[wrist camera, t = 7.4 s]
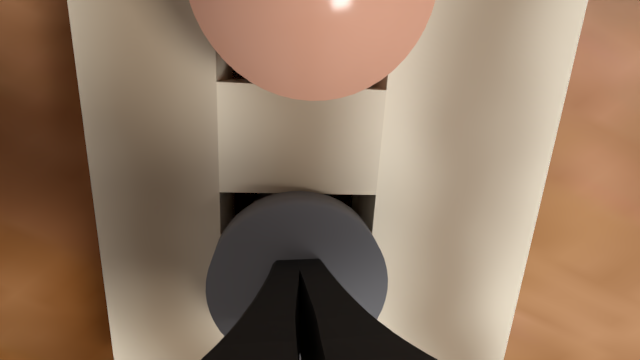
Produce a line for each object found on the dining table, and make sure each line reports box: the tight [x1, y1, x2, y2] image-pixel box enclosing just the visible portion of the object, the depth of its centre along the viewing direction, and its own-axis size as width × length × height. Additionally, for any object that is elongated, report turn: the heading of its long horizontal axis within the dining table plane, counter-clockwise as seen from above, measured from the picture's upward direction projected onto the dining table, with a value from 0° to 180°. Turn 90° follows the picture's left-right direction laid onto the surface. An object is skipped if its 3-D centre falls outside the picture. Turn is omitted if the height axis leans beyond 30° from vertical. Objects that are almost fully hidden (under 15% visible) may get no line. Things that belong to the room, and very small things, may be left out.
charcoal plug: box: [205, 191, 388, 360], centre depth 13 cm, size 5×5×5 cm
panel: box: [67, 0, 588, 360], centre depth 12 cm, size 14×28×4 cm, turn 177°
